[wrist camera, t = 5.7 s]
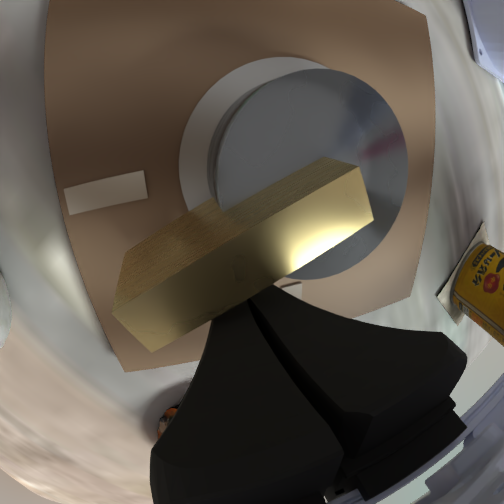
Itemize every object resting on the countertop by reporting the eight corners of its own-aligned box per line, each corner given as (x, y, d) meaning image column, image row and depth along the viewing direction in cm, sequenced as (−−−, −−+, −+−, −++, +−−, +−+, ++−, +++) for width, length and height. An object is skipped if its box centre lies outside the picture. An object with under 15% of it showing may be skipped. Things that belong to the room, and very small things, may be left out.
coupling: (337, 57, 7) (412, 41, 4) (385, 202, 10) (450, 234, 7) (85, 186, 7) (40, 226, 4) (188, 321, 10) (204, 396, 7)
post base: (57, 0, 5) (47, -11, 4) (414, 17, 8) (431, 14, 7) (125, 360, 12) (124, 378, 11) (401, 289, 16) (414, 300, 15)
